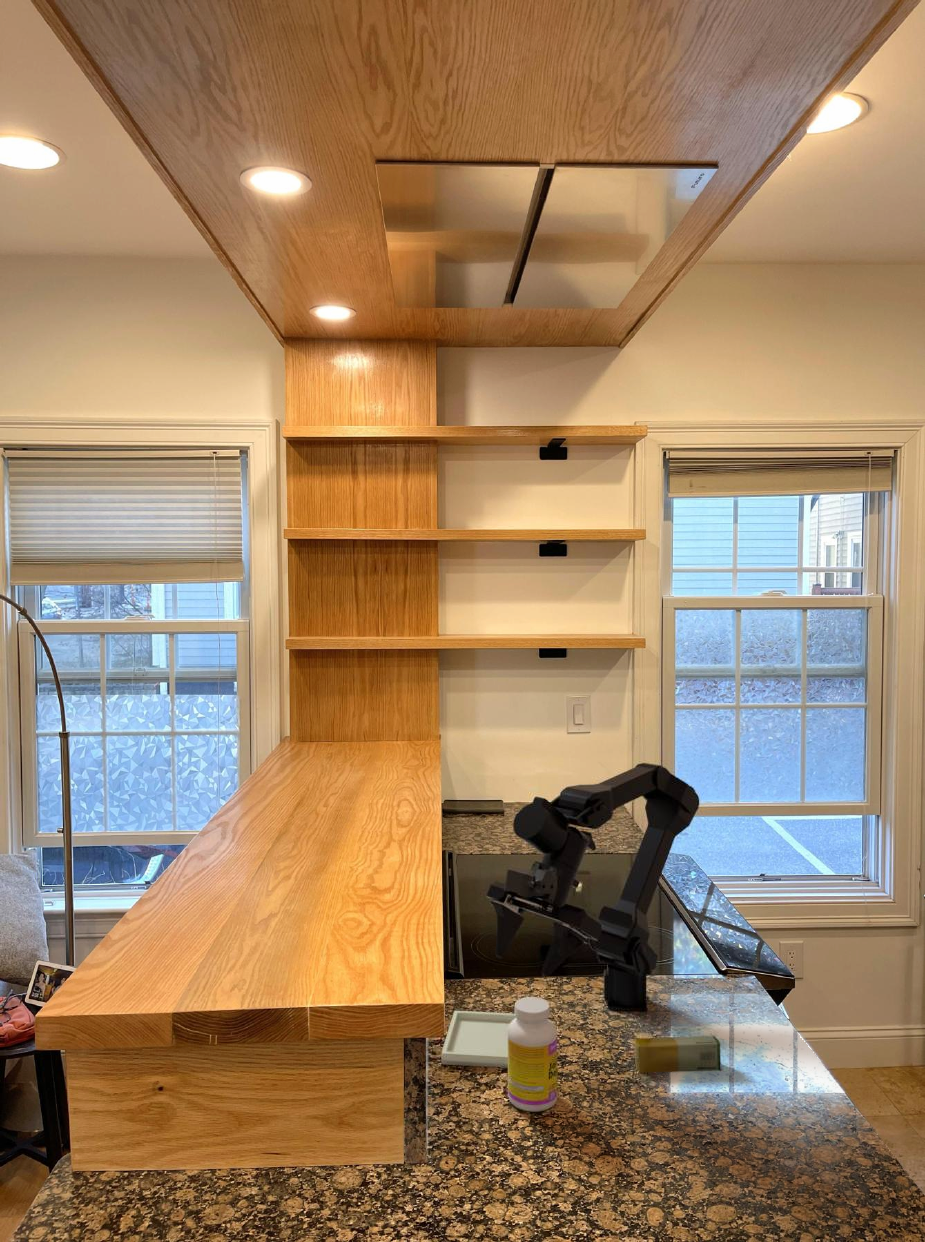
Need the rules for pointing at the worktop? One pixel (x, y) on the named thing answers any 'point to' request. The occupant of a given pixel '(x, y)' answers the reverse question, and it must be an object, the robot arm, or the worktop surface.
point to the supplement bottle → (532, 1056)
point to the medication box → (677, 1054)
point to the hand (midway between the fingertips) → (520, 965)
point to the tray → (477, 1039)
